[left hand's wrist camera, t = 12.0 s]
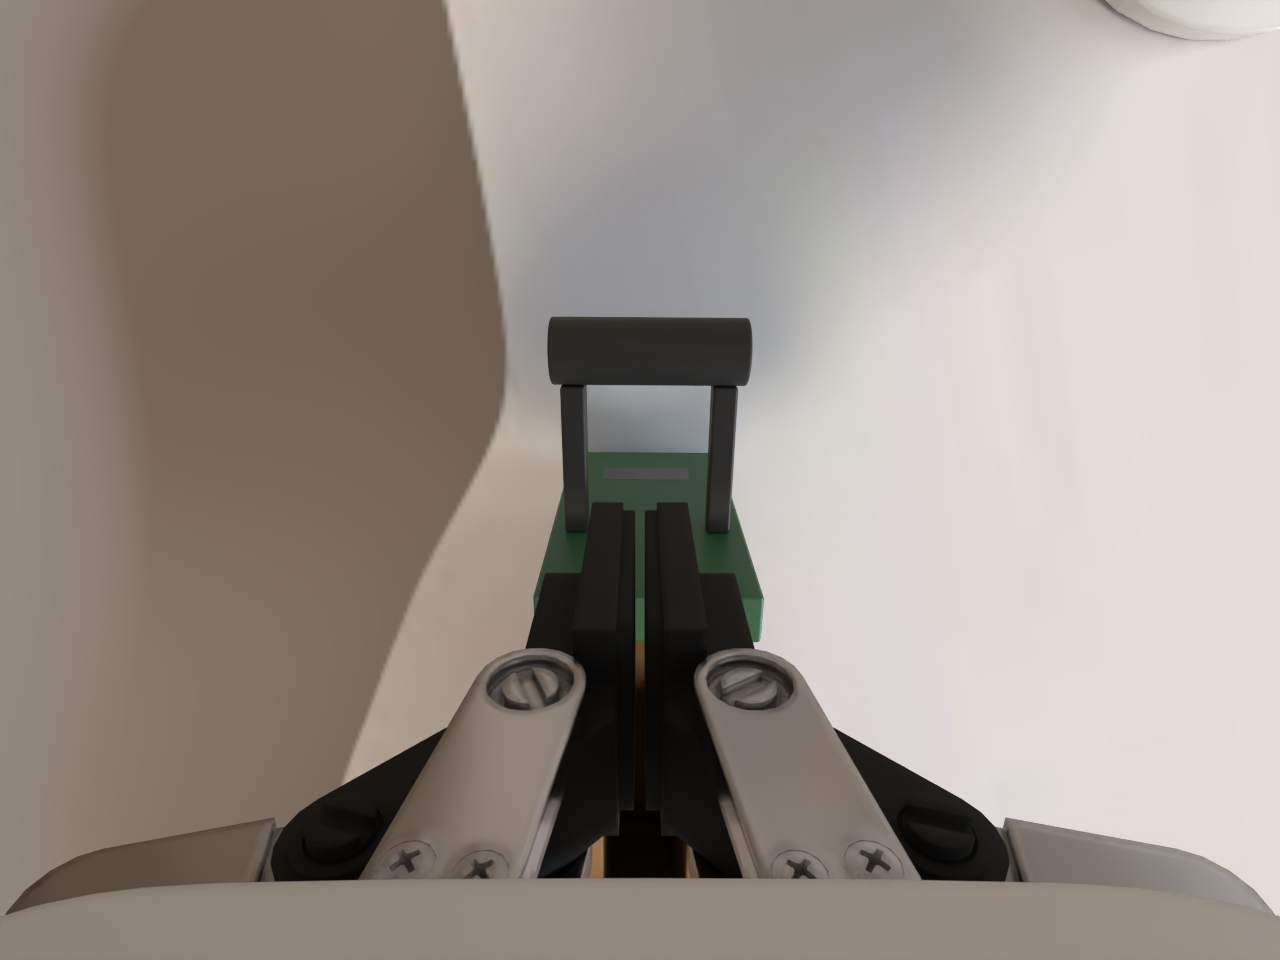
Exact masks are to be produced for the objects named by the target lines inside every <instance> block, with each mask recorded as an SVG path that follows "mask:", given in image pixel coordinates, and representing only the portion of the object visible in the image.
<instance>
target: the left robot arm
mask: <svg viewBox="0 0 1280 960" xmlns="http://www.w3.org/2000/svg"><path fill="white" fill-rule="evenodd" d="M1105 1H1106V2H1108V3H1109V4H1110V5H1111V6H1112V7H1113V8H1114V9H1115V10H1116V11H1117V12H1119V13H1121V14H1123V15H1125V16H1126V17H1128V18H1130V19H1132V20H1134V21H1136V22H1137V23H1139V24H1141V25H1143V26H1145V27H1146V28H1148V29H1150V30H1153V31H1157V32H1161V33H1165V34H1168V35H1172V36H1176V37H1180V38H1184V39H1188V40H1229V41H1230V40H1235V39H1240V38H1246V37H1251V36H1256V35H1261V34H1266V33H1271V32H1275V31H1278V30H1280V0H1105ZM635 649H636V639H635V510H623V502H593V503H592V508H591V515H590V521H589V527H588V533H587V539H586V545H585V552H584V558H583V564H582V570H581V573H546V574H545V576H544V579H543V583H542V587H541V591H540V595H539V599H538V602H537V606H536V610H535V614H534V618H533V622H532V625H531V629H530V633H529V637H528V641H527V645H526V649H524V650H518V651H513V652H511V653H508V654H506V655H503V656H501V657H498V658H497V659H495V660H494V661H492V662H491V663H489V664H488V665H486V666H485V667H484V669H483V670H482V671H481V672H480V673H479V675H478V676H477V677H476V679H475V681H474V683H473V684H472V686H471V688H470V689H469V691H468V693H467V695H466V696H465V698H464V700H463V701H462V703H461V705H460V707H459V708H458V710H457V712H456V713H455V715H454V717H453V718H452V720H451V722H450V724H449V725H448V727H447V728H445V729H443V730H441V731H440V732H438V733H436V734H434V735H432V736H431V737H429V738H427V739H425V740H423V741H422V742H420V743H418V744H416V745H414V746H413V747H411V748H409V749H407V750H405V751H404V752H402V753H400V754H398V755H396V756H395V757H393V758H391V759H389V760H388V761H386V762H384V763H382V764H380V765H379V766H377V767H375V768H373V769H371V770H370V771H368V772H366V773H364V774H362V775H361V776H359V777H357V778H355V779H353V780H352V781H350V782H348V783H346V784H344V785H343V786H341V787H339V788H337V789H335V790H334V791H332V792H330V793H328V794H327V795H325V796H323V797H321V798H319V799H318V800H316V801H315V802H313V803H312V804H310V805H309V806H307V807H306V808H305V809H303V810H302V811H300V812H299V813H298V814H297V815H296V816H295V817H294V818H293V819H292V820H291V821H290V822H289V823H288V824H287V825H286V826H285V827H282V828H277V826H276V822H275V818H270V819H264V820H259V821H253V822H248V823H242V824H237V825H231V826H226V827H221V828H215V829H209V830H204V831H199V832H193V833H187V834H182V835H177V836H171V837H165V838H160V839H154V840H149V841H144V842H138V843H133V844H127V845H122V846H116V847H111V848H105V849H101V850H98V851H94V852H91V853H88V854H85V855H81V856H78V857H76V858H74V859H72V860H70V861H68V862H66V863H64V864H62V865H60V866H59V867H57V868H55V869H53V870H51V871H49V872H48V873H47V874H46V875H44V876H43V877H42V878H40V879H39V880H38V881H36V882H35V883H34V884H33V885H31V886H30V887H29V888H28V889H26V890H25V891H24V892H23V894H22V895H21V896H20V897H19V898H18V899H17V901H16V902H15V903H14V904H13V905H12V907H11V908H10V909H9V910H8V911H7V913H6V914H5V915H4V916H1V917H0V960H1280V917H1279V916H1276V915H1275V914H1274V913H1273V911H1272V910H1271V909H1270V908H1269V907H1268V905H1267V904H1266V903H1265V902H1264V901H1263V899H1262V898H1261V897H1260V896H1259V895H1258V894H1257V892H1256V891H1255V890H1254V889H1253V888H1251V887H1250V886H1249V885H1247V884H1246V883H1245V882H1244V881H1242V880H1241V879H1240V878H1238V877H1237V876H1236V875H1234V874H1233V873H1232V872H1231V871H1229V870H1227V869H1225V868H1223V867H1221V866H1220V865H1218V864H1216V863H1214V862H1212V861H1210V860H1208V859H1206V858H1204V857H1202V856H1199V855H1195V854H1192V853H1189V852H1186V851H1182V850H1179V849H1175V848H1169V847H1164V846H1158V845H1153V844H1147V843H1142V842H1136V841H1131V840H1126V839H1120V838H1115V837H1109V836H1104V835H1098V834H1093V833H1087V832H1082V831H1076V830H1071V829H1065V828H1060V827H1054V826H1049V825H1043V824H1038V823H1032V822H1027V821H1021V820H1016V819H1010V818H1005V822H1004V826H1003V828H998V827H995V826H994V825H993V824H992V823H991V822H990V821H989V820H988V819H987V818H986V817H985V816H984V815H983V814H982V813H981V812H980V811H978V810H977V809H975V808H974V807H973V806H971V805H970V804H968V803H967V802H965V801H964V800H962V799H961V798H959V797H957V796H955V795H953V794H952V793H950V792H948V791H946V790H945V789H943V788H941V787H939V786H937V785H936V784H934V783H932V782H930V781H928V780H927V779H925V778H923V777H921V776H919V775H918V774H916V773H914V772H912V771H910V770H909V769H907V768H905V767H903V766H901V765H900V764H898V763H896V762H894V761H892V760H891V759H889V758H887V757H885V756H884V755H882V754H880V753H878V752H876V751H875V750H873V749H871V748H869V747H867V746H866V745H864V744H862V743H860V742H858V741H857V740H855V739H853V738H851V737H849V736H848V735H846V734H844V733H842V732H840V731H839V730H837V729H835V728H833V727H832V725H831V724H830V722H829V720H828V718H827V717H826V715H825V713H824V712H823V710H822V708H821V707H820V705H819V703H818V701H817V700H816V698H815V696H814V695H813V693H812V691H811V689H810V688H809V686H808V684H807V683H806V681H805V679H804V677H803V676H802V675H801V673H800V672H799V671H798V670H797V669H796V667H795V666H794V665H792V664H791V663H789V662H788V661H786V660H785V659H783V658H782V657H779V656H777V655H774V654H772V653H769V652H767V651H762V650H756V649H754V645H753V641H752V637H751V633H750V629H749V626H748V622H747V618H746V614H745V610H744V606H743V602H742V599H741V595H740V591H739V587H738V583H737V579H736V576H735V574H734V573H699V570H698V564H697V558H696V552H695V545H694V539H693V533H692V527H691V521H690V515H689V508H688V503H687V502H657V510H645V638H644V649H645V755H646V810H661V836H677V837H679V838H680V839H681V840H682V841H684V842H685V843H686V844H687V845H688V868H689V873H690V877H691V878H589V877H590V873H591V868H592V845H593V844H594V843H595V842H596V841H598V840H599V839H600V838H601V837H603V836H619V810H634V755H635Z"/></svg>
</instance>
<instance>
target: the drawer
mask: <svg viewBox="0 0 1280 960" xmlns="http://www.w3.org/2000/svg"><path fill="white" fill-rule="evenodd" d="M751 363H752V329H751V324H750V321H749V319H747V318H664V317H551V319H550V321H549V327H548V368H549V376H550V380H551V383H552V384H554V385H562V386H561V388H560V397H561V424H562V452H563V480H564V488H563V491H562V495H561V499H560V502H559V506H558V510H557V513H556V517H555V521H554V524H553V528H552V532H551V535H550V539H549V542H548V546H547V550H546V553H545V557H544V561H543V564H542V568H541V572H540V575H539V579H538V582H537V586H536V590H535V593H534V597H533V599H534V614H535V610H536V606H537V602H538V599H539V595H540V591H541V587H542V583H543V579H544V576H545V574H546V573H581V570H582V564H583V558H584V552H585V545H586V539H587V533H588V527H589V521H590V515H591V508H592V503H593V502H623V510H635V639H636V649H635V755H634V810H619V836H603V837H601V838H600V839H599V840H598V841H596V842H595V843H594V844H593V845H592V868H591V873H590V877H589V878H691V877H690V873H689V868H688V845H687V844H686V843H685V842H684V841H682V840H681V839H680V838H679V837H677V836H661V810H646V755H645V649H644V638H645V510H657V502H687V503H688V508H689V515H690V521H691V527H692V533H693V539H694V545H695V552H696V558H697V564H698V570H699V573H734V574H735V576H736V579H737V583H738V587H739V591H740V595H741V599H742V602H743V606H744V610H745V614H746V618H747V622H748V626H749V629H750V633H751V637H752V641H753V642H759V641H760V638H761V628H762V616H763V604H764V597H763V594H762V591H761V588H760V585H759V582H758V579H757V575H756V572H755V569H754V566H753V563H752V560H751V557H750V553H749V550H748V547H747V544H746V541H745V538H744V535H743V531H742V528H741V525H740V522H739V519H738V516H737V513H736V510H735V506H734V503H733V500H732V497H731V496H732V480H733V464H734V447H735V431H736V414H737V398H738V389H737V387H736V386H745V385H747V383H748V380H749V377H750V371H751ZM586 385H693V386H711V403H710V425H709V447H708V453H608V452H588V436H587V390H586Z"/></svg>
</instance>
